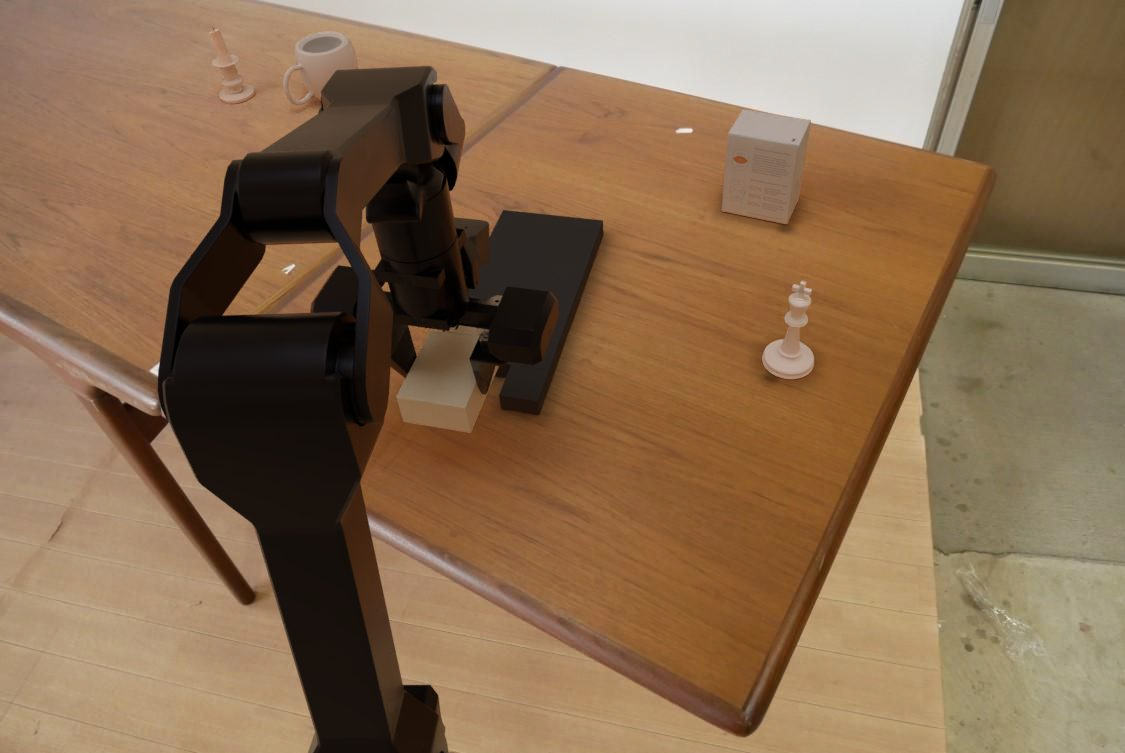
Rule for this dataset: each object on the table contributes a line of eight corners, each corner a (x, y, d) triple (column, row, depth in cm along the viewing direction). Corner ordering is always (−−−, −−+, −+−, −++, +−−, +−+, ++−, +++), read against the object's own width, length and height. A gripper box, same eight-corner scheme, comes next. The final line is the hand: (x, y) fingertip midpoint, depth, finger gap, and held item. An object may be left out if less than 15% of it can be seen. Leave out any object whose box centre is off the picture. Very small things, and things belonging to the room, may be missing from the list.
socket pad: (539, 415, 79) (537, 401, 78) (420, 396, 82) (416, 382, 80) (603, 234, 97) (603, 220, 96) (504, 223, 100) (502, 209, 98)
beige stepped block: (471, 433, 69) (465, 407, 67) (403, 422, 70) (395, 396, 68) (511, 337, 77) (507, 311, 74) (449, 329, 78) (443, 303, 76)
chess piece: (772, 337, 84) (786, 259, 77) (820, 353, 82) (839, 274, 75) (754, 369, 81) (766, 291, 74) (803, 386, 80) (821, 307, 72)
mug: (341, 74, 128) (327, 23, 122) (376, 90, 124) (363, 38, 118) (275, 106, 122) (257, 54, 117) (309, 125, 118) (293, 72, 112)
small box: (799, 199, 100) (813, 119, 92) (787, 226, 96) (801, 145, 89) (733, 186, 102) (742, 107, 94) (719, 212, 99) (727, 132, 91)
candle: (213, 97, 125) (186, 29, 118) (242, 83, 128) (217, 15, 120) (233, 107, 123) (207, 38, 115) (262, 92, 125) (239, 23, 118)
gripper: (570, 186, 64) (579, 335, 75) (345, 164, 67) (386, 308, 79) (530, 281, 56) (547, 429, 68) (280, 250, 60) (336, 395, 72)
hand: (451, 385), depth 72 cm, fingers closed on beige stepped block, 6 cm apart
